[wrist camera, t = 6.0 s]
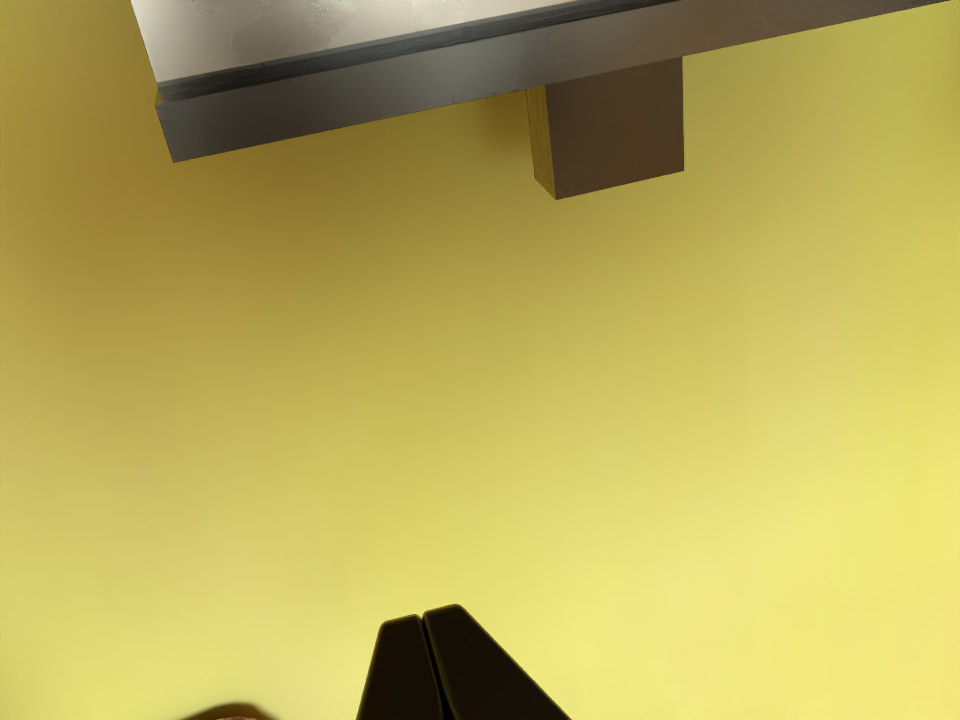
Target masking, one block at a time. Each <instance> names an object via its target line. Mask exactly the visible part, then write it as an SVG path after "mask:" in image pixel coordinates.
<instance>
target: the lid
mask: <svg viewBox="0 0 960 720" xmlns="http://www.w3.org/2000/svg"><path fill="white" fill-rule="evenodd" d="M571 1H576V0H131V3H132V6H133V9H134V12H135V15H136V18H137V22H138V25H139V28H140V31H141V34H142V37H143V41H144V44H145V47H146V50H147V53H148V56H149V60H150V63H151V66H152V69H153V72H154V75H155V79H156V82H162V81H168V80H173V79H178V78H183V77H188V76H193V75H198V74H203V73H208V72H213V71H219V70H224V69H229V68H234V67H239V66H244V65H249V64H254V63H259V62H265V61H270V60H275V59H280V58H285V57H290V56H295V55H300V54H305V53H310V52H316V51H321V50H326V49H331V48H336V47H341V46H346V45H351V44H356V43H362V42H367V41H372V40H377V39H382V38H387V37H392V36H397V35H402V34H407V33H413V32H418V31H423V30H428V29H433V28H438V27H443V26H448V25H453V24H459V23H464V22H469V21H474V20H479V19H484V18H489V17H494V16H499V15H504V14H510V13H515V12H520V11H525V10H530V9H535V8H540V7H545V6H550V5H556V4H561V3H566V2H571Z"/></svg>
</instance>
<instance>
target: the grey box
mask: <svg viewBox="0 0 960 720" xmlns="http://www.w3.org/2000/svg"><path fill="white" fill-rule="evenodd" d="M130 1H131V0H130ZM944 1H949V0H576V1H571V2H566V3H561V4H556V5H550V6H545V7H540V8H535V9H530V10H525V11H520V12H515V13H510V14H504V15H499V16H494V17H489V18H484V19H479V20H474V21H469V22H464V23H459V24H453V25H448V26H443V27H438V28H433V29H428V30H423V31H418V32H413V33H407V34H402V35H397V36H392V37H387V38H382V39H377V40H372V41H367V42H362V43H356V44H351V45H346V46H341V47H336V48H331V49H326V50H321V51H316V52H310V53H305V54H300V55H295V56H290V57H285V58H280V59H275V60H270V61H265V62H259V63H254V64H249V65H244V66H239V67H234V68H229V69H224V70H219V71H213V72H208V73H203V74H198V75H193V76H188V77H183V78H178V79H173V80H168V81H162V82H156V83H157V86H158V91H157V96H156V102H155V107H156V110H157V114H158V117H159V120H160V123H161V126H162V129H163V132H164V135H165V138H166V142H167V145H168V148H169V151H170V154H171V157H172V160H173V163H175V162H180V161H185V160H190V159H194V158H199V157H204V156H209V155H213V154H218V153H223V152H228V151H233V150H237V149H242V148H247V147H252V146H256V145H261V144H266V143H271V142H275V141H280V140H285V139H290V138H295V137H299V136H304V135H309V134H314V133H318V132H323V131H328V130H333V129H338V128H342V127H347V126H352V125H357V124H361V123H366V122H371V121H376V120H381V119H385V118H390V117H395V116H400V115H404V114H409V113H414V112H419V111H424V110H428V109H433V108H438V107H443V106H447V105H452V104H457V103H462V102H467V101H471V100H476V99H481V98H486V97H490V96H495V95H500V94H505V93H510V92H514V91H519V90H524V89H525V91H526V100H527V109H528V119H529V128H530V138H531V147H532V156H533V166H534V175H535V179H536V180H537V181H538V182H539V183H540V184H541V185H542V186H543V187H544V188H545V189H546V190H547V191H548V192H549V194H550V195H551V196H552V197H553V198H554V199H555V200H559V199H563V198H567V197H572V196H576V195H580V194H585V193H589V192H593V191H598V190H602V189H607V188H611V187H615V186H620V185H624V184H628V183H633V182H637V181H641V180H646V179H650V178H654V177H659V176H663V175H668V174H672V173H676V172H681V171H684V135H683V75H682V56H686V55H691V54H696V53H701V52H705V51H710V50H715V49H720V48H724V47H729V46H734V45H739V44H744V43H748V42H753V41H758V40H763V39H767V38H772V37H777V36H782V35H787V34H791V33H796V32H801V31H806V30H810V29H815V28H820V27H825V26H830V25H834V24H839V23H844V22H849V21H853V20H858V19H863V18H868V17H873V16H877V15H882V14H887V13H892V12H896V11H901V10H906V9H911V8H916V7H920V6H925V5H930V4H935V3H939V2H944ZM131 4H132V3H131ZM132 7H133V6H132ZM133 10H134V9H133ZM134 14H135V12H134ZM135 17H136V15H135ZM136 20H137V18H136ZM137 23H138V22H137ZM138 26H139V25H138ZM139 29H140V28H139ZM140 33H141V31H140ZM141 36H142V34H141ZM142 39H143V37H142ZM143 42H144V41H143ZM144 45H145V44H144ZM145 48H146V47H145ZM146 52H147V50H146ZM147 55H148V53H147ZM148 58H149V56H148ZM149 61H150V60H149ZM150 64H151V63H150ZM151 67H152V66H151ZM152 70H153V69H152ZM153 74H154V72H153ZM154 77H155V75H154ZM155 80H156V79H155Z"/></svg>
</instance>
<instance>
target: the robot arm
mask: <svg viewBox="0 0 960 720" xmlns="http://www.w3.org/2000/svg"><path fill="white" fill-rule="evenodd" d="M356 720H572V719H571V718H570V717H569V716H568V715H567V714H566V713H565V712H564V711H563V710H562V709H561V708H560V707H559V706H558V705H557V704H556V703H555V702H554V701H553V700H552V699H551V698H550V697H549V696H548V694H547V693H546V692H545V691H544V690H543V689H542V688H541V687H540V686H539V685H538V684H537V683H536V682H535V681H534V680H533V679H532V678H531V677H530V676H529V675H528V674H527V673H526V672H525V671H524V670H523V669H522V668H521V667H520V665H519V664H518V663H517V662H516V661H515V660H514V659H513V658H512V657H511V656H510V655H509V654H508V653H507V652H506V651H505V650H504V649H503V648H502V647H501V646H500V645H499V644H498V643H497V642H496V641H495V640H494V639H493V637H492V636H491V635H490V634H489V633H488V632H487V631H486V630H485V629H484V628H483V627H482V626H481V625H480V624H479V623H478V622H477V621H476V620H475V619H474V618H473V617H472V616H471V615H470V614H469V613H468V612H467V611H466V609H464V608H463V607H462V606H461V605H458V604H452V605H448V606H444V607H440V608H436V609H432V610H428V611H426V612H424V614H423V616H422V620H421V617H420V616H419V615H416V614H412V615H408V616H404V617H400V618H396V619H392V620H388V621H385V622H384V623H382V625H381V626H380V629H379V632H378V635H377V639H376V643H375V647H374V651H373V655H372V659H371V663H370V667H369V670H368V674H367V678H366V682H365V686H364V690H363V694H362V698H361V702H360V705H359V709H358V713H357V717H356Z"/></svg>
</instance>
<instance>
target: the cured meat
mask: <svg viewBox="0 0 960 720" xmlns="http://www.w3.org/2000/svg"><path fill="white" fill-rule="evenodd" d="M217 720H256V719H255V718H249V717H242V716H234V717H228V718H222V719H217Z"/></svg>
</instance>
